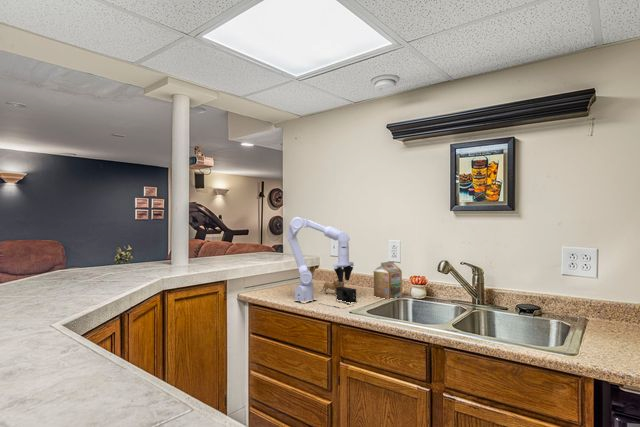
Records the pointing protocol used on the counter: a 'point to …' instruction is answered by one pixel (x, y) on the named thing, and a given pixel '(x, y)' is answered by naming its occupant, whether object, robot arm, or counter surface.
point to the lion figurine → (333, 285)
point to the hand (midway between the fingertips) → (343, 281)
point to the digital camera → (346, 294)
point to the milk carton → (388, 281)
